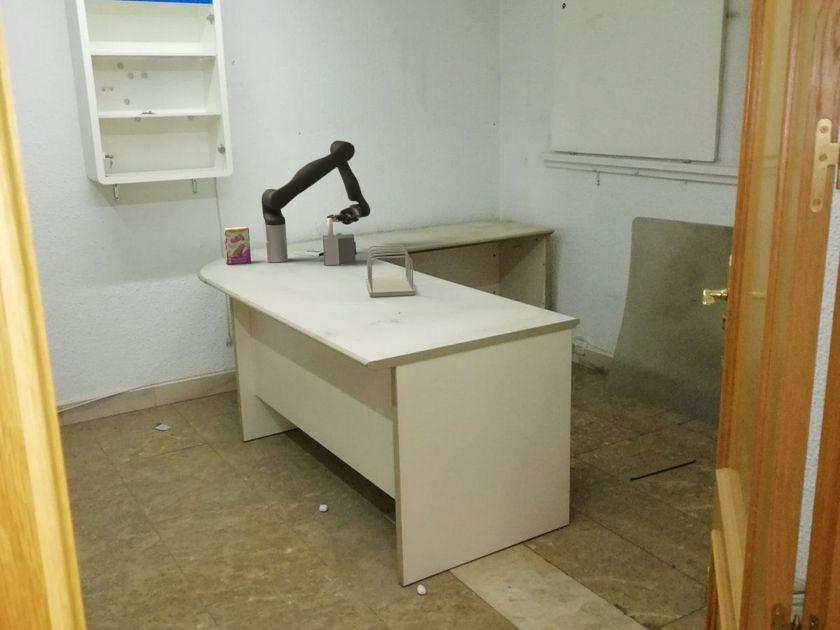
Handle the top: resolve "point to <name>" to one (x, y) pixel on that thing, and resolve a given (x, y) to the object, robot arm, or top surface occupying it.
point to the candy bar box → (237, 245)
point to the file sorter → (390, 284)
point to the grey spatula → (331, 246)
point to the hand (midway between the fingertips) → (338, 220)
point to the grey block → (345, 248)
